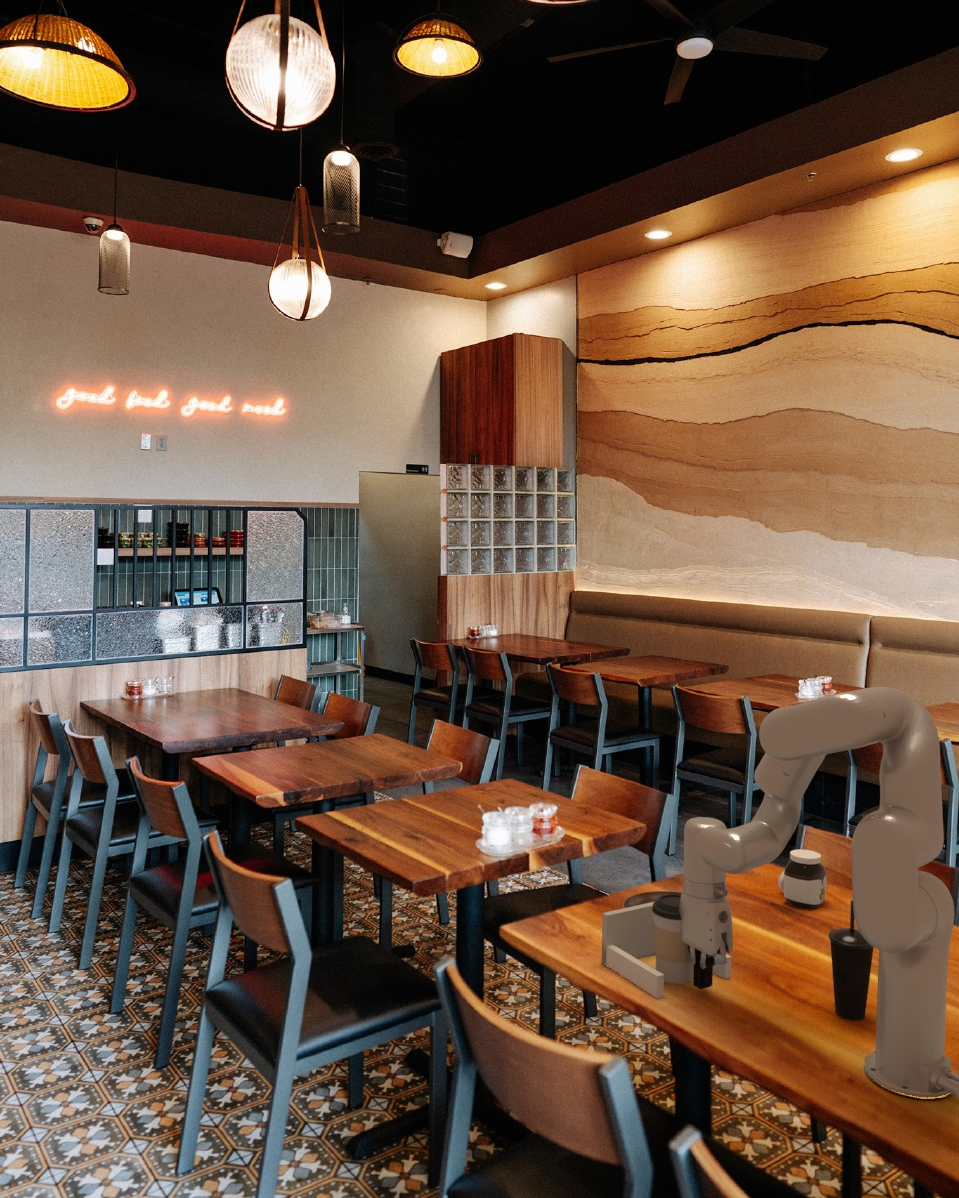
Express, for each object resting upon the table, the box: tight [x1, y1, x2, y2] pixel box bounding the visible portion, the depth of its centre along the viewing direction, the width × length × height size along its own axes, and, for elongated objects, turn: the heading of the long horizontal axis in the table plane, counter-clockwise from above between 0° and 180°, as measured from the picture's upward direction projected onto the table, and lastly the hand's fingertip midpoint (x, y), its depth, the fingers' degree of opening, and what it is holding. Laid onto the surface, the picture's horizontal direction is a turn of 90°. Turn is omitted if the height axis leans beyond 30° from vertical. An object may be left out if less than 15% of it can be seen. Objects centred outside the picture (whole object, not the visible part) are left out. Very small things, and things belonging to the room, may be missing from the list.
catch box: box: [601, 902, 732, 999], centre depth 179 cm, size 16×18×10 cm
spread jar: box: [777, 849, 827, 910], centre depth 217 cm, size 12×11×12 cm
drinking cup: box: [828, 900, 875, 1022], centre depth 162 cm, size 8×8×20 cm
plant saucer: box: [622, 890, 682, 909], centre depth 205 cm, size 21×21×3 cm
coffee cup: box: [652, 894, 694, 985], centre depth 176 cm, size 9×9×15 cm
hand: (702, 985), depth 170 cm, fingers closed
